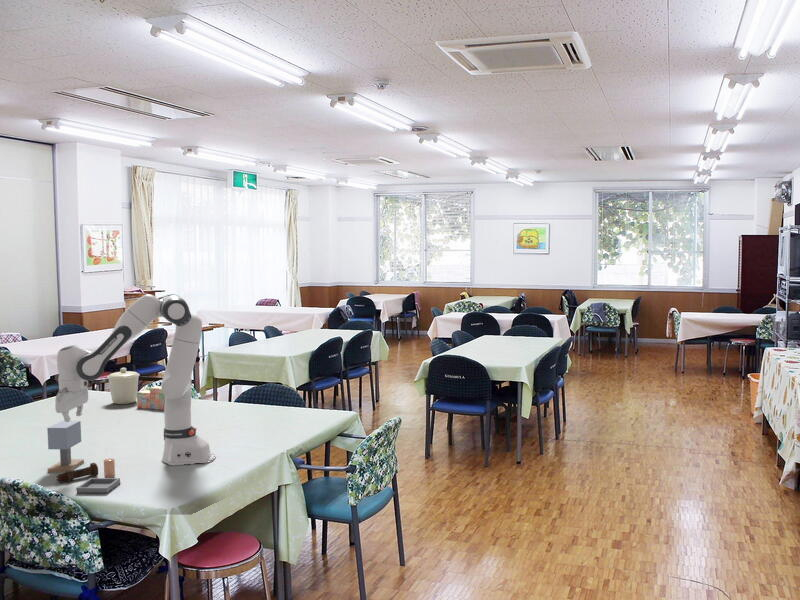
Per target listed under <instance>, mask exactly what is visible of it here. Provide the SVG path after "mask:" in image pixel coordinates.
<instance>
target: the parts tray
mask: <svg viewBox="0 0 800 600" xmlns="http://www.w3.org/2000/svg"><path fill="white" fill-rule="evenodd" d="M118 484H119V485H121V478H120V477H114V478H104V477H91V478H89V479H87V480H86V481H84V482H83V483H81V484H80V485H79V486H77V487H76V494H77V495H86V494H88V495H96V494H97V495H108V494H109V493H110V492H112V491H113V490H114V489H115V488H116V486H117V485H118ZM119 485H118V486H119ZM118 486H117V487H118ZM112 489H113V490H112Z"/></svg>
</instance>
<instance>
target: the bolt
mask: <svg viewBox="0 0 800 600" xmlns="http://www.w3.org/2000/svg"><path fill="white" fill-rule="evenodd" d="M92 475H93V476H92ZM86 476H92V477H94V476H95V477H97V476H99V467H98V464H97V463H95V462H91V463H90V464H89V466H87V467H84V468H79V469H76V470H75V469H74V470H72V471H71V470H66V471H65V472H61V473H59V474H58V475H57V476H56V477H55V478H56V482H57V483H62V482H68V483H71V482H73V481H74V480H75V479H80V478H83V477H86Z"/></svg>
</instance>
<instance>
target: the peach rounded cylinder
mask: <svg viewBox="0 0 800 600" xmlns="http://www.w3.org/2000/svg"><path fill="white" fill-rule="evenodd" d="M115 464H116V463H115V458H105V459H104V460H103V471H104V472H103V475H104V477H105V478H112V477H114V476H115V477H116V465H115ZM104 477H103V478H104ZM115 477H114V478H115Z"/></svg>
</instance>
